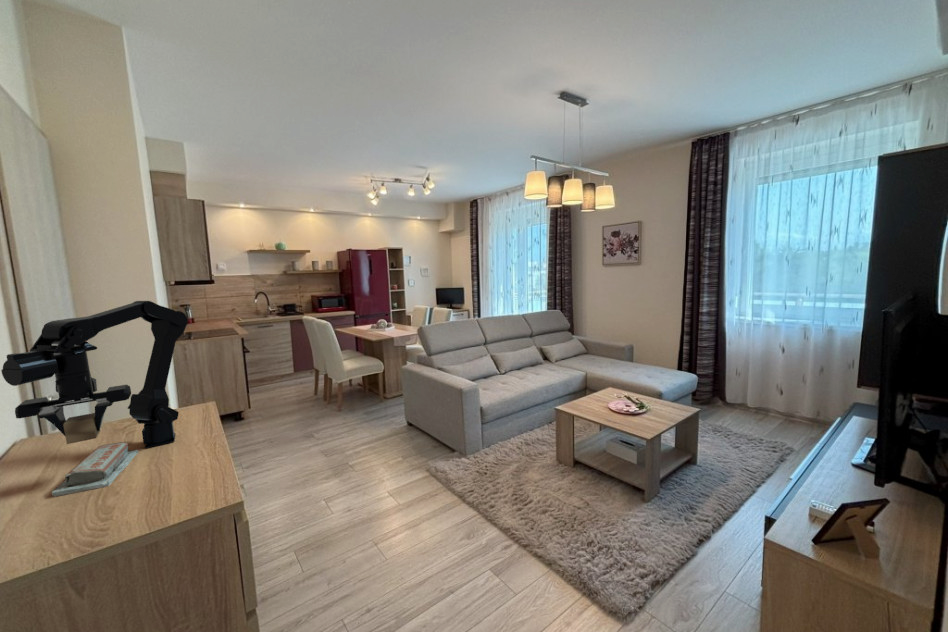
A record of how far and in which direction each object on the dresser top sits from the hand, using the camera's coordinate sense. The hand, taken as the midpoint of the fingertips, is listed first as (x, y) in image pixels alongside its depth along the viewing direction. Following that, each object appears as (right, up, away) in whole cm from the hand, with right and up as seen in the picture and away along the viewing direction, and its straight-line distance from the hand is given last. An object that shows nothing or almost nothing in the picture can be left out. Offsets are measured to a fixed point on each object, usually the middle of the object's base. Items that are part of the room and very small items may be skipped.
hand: (83, 433), depth 92 cm
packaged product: (+2, -11, +2) cm, 12 cm away
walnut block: (0, -1, 0) cm, 1 cm away
